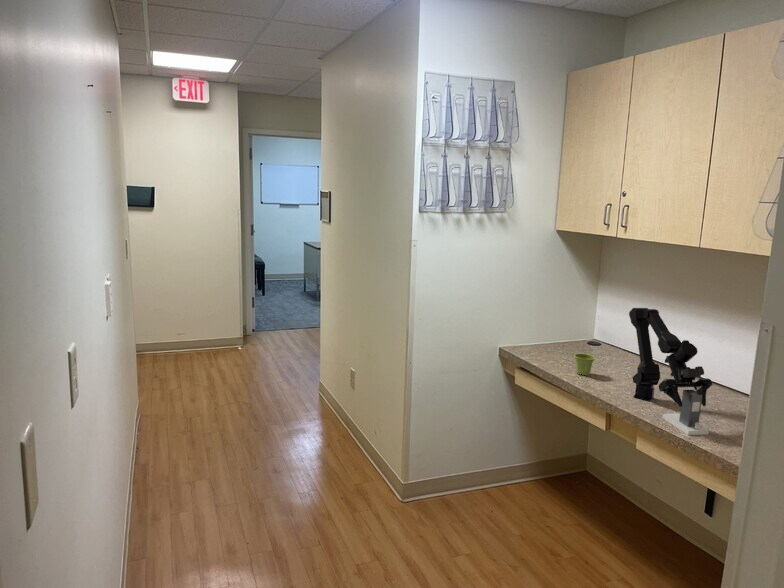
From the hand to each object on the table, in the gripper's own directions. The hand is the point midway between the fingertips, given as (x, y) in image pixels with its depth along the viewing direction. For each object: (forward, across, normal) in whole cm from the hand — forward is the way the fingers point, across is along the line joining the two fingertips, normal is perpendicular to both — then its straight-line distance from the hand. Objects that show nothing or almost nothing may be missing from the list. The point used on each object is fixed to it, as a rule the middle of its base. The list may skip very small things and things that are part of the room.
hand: (693, 406), depth 213 cm
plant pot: (-39, -12, +52) cm, 66 cm away
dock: (+4, 0, +9) cm, 10 cm away
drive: (+4, 0, +6) cm, 8 cm away
